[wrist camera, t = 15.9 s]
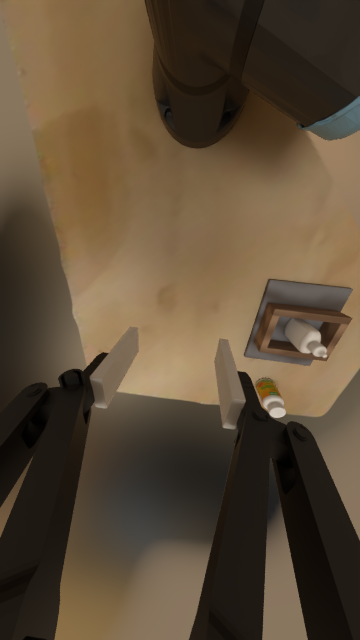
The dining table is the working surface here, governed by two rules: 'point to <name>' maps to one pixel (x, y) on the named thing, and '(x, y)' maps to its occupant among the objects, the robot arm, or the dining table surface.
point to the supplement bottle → (270, 397)
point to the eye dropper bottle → (305, 337)
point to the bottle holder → (297, 302)
